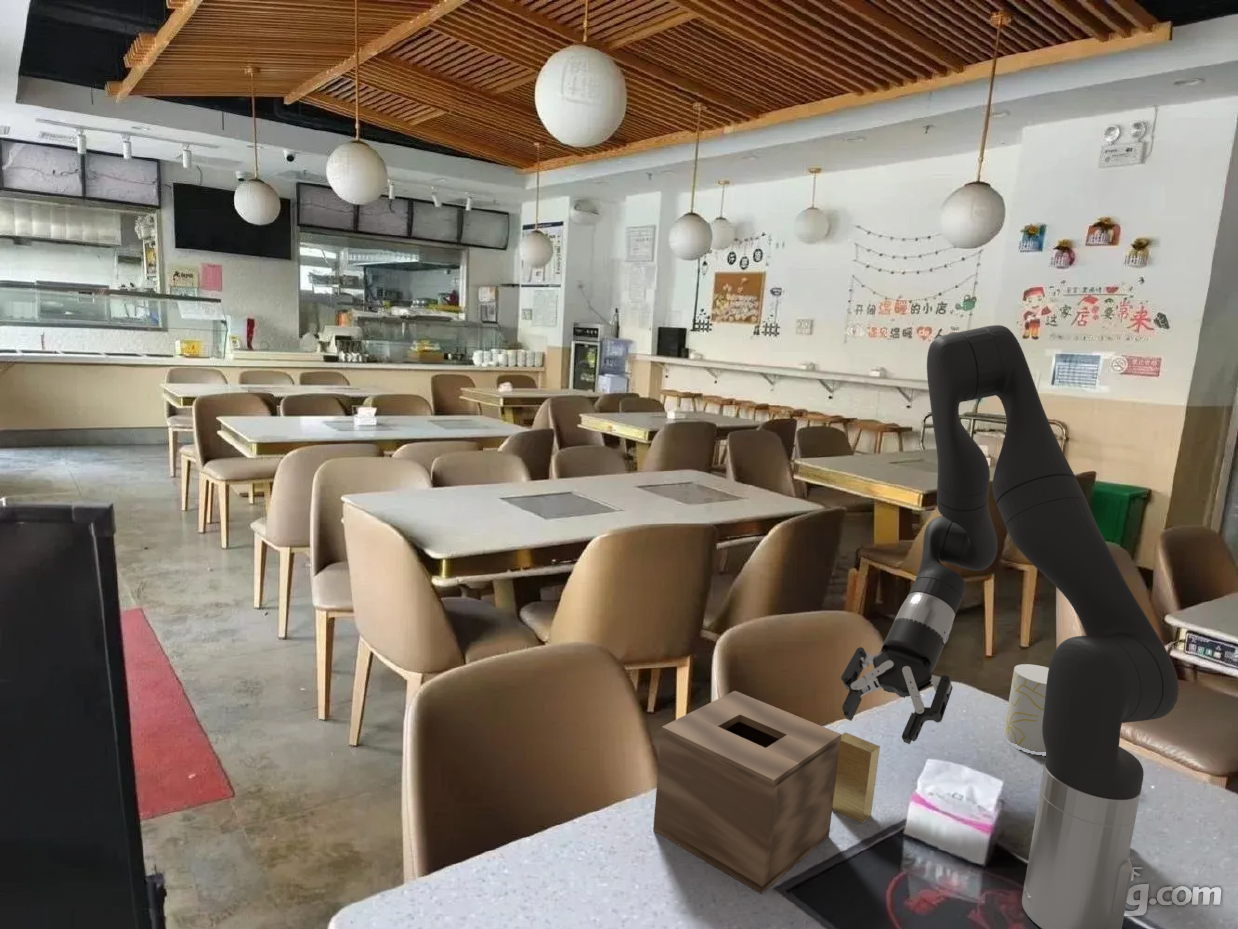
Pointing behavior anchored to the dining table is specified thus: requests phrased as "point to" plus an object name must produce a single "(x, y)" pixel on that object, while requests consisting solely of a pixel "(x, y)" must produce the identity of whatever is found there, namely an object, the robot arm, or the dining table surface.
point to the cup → (1027, 707)
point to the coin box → (746, 787)
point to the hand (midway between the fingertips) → (875, 729)
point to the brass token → (855, 777)
